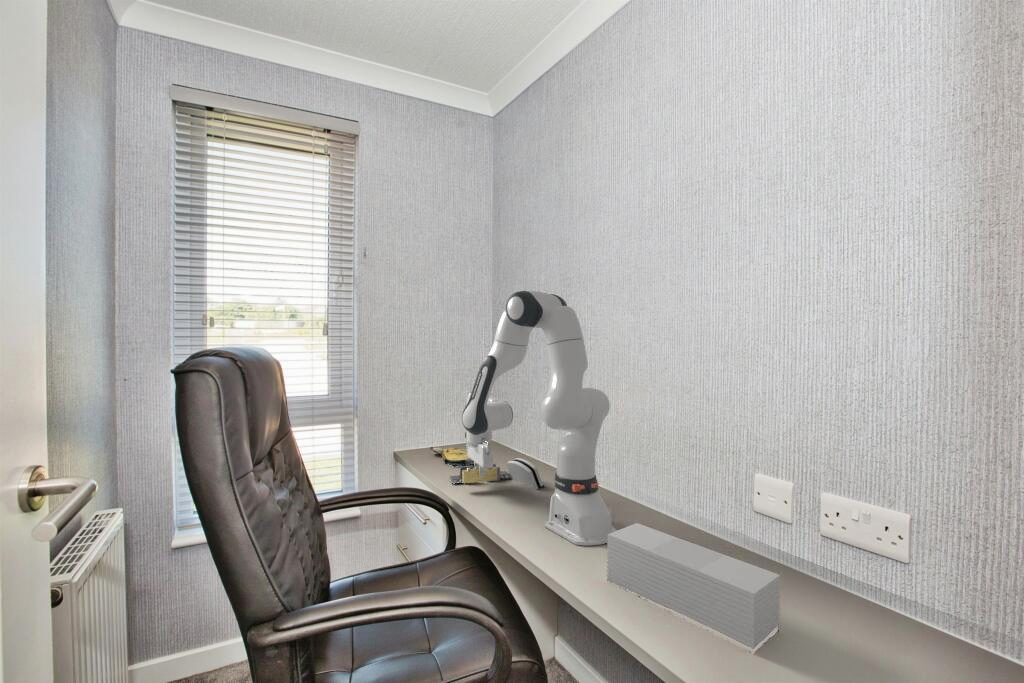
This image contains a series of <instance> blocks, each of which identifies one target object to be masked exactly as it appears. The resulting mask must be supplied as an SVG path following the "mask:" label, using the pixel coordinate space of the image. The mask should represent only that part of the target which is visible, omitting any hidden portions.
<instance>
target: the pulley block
mask: <svg viewBox="0 0 1024 683" xmlns="http://www.w3.org/2000/svg"><path fill="white" fill-rule="evenodd" d="M429 449H430V450H431V451H433V452H434V453H436V454H439V455H441V456H442V457H441V458H442V460H443V462H444V464H445V465H446V464H449V465H452V466H471V465H474V461H473V460H471V459H470V458H469V457H468V455H467V448H459V447H446V448H441V447H439V446H435V447H434V446H431V447H429ZM452 466H451V467H452Z"/></svg>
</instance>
